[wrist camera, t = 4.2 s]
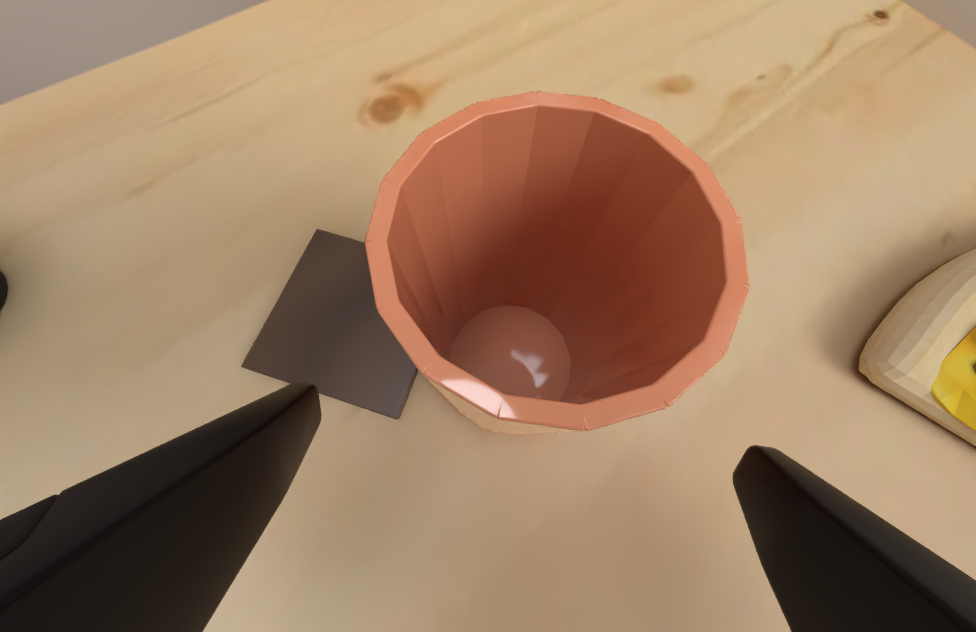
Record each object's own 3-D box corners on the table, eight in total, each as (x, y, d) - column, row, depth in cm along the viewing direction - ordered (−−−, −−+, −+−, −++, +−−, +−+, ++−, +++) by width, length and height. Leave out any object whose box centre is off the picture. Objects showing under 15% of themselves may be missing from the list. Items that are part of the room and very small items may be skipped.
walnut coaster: (455, 272, 20) (454, 268, 19) (398, 419, 17) (396, 419, 17) (319, 232, 21) (316, 228, 20) (245, 368, 18) (240, 366, 18)
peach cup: (602, 376, 18) (827, 263, 6) (497, 463, 17) (532, 532, 5) (518, 280, 20) (570, 47, 8) (417, 352, 18) (298, 199, 7)
